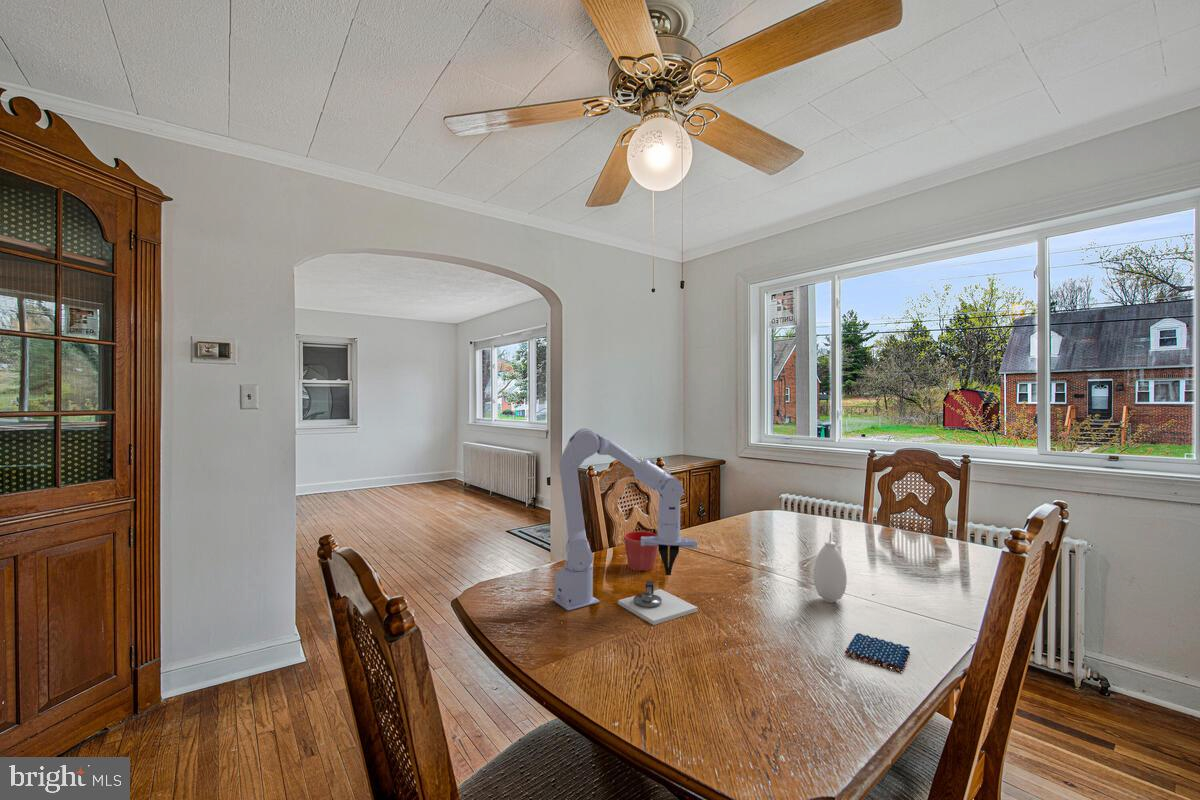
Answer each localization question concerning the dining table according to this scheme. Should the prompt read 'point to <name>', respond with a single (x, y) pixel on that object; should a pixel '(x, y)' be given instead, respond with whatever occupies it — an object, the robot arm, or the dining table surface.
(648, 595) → the crank handle
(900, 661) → the woven mat
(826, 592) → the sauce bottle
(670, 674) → the dining table surface
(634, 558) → the flower pot
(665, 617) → the stand plate
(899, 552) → the dining table surface
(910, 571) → the dining table surface
